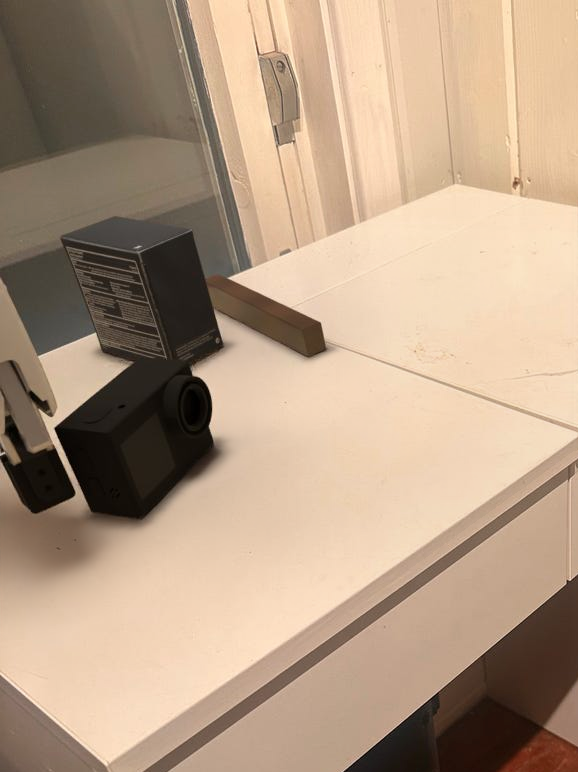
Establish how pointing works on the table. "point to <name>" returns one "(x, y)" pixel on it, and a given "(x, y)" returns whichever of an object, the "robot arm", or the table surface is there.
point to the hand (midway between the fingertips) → (50, 500)
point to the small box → (144, 289)
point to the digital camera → (138, 435)
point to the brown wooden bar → (266, 315)
